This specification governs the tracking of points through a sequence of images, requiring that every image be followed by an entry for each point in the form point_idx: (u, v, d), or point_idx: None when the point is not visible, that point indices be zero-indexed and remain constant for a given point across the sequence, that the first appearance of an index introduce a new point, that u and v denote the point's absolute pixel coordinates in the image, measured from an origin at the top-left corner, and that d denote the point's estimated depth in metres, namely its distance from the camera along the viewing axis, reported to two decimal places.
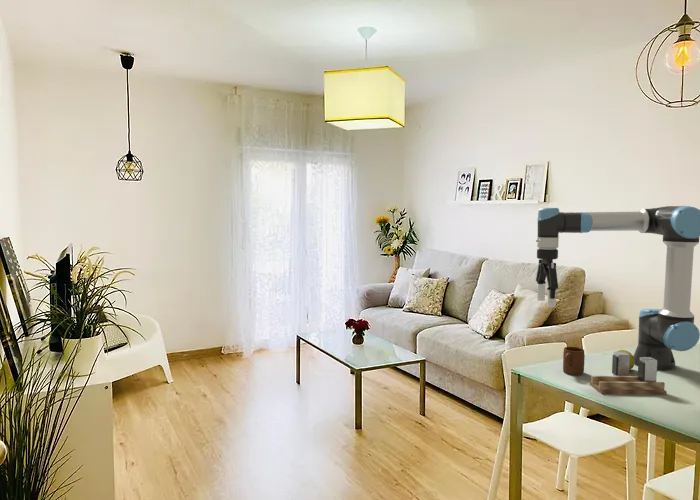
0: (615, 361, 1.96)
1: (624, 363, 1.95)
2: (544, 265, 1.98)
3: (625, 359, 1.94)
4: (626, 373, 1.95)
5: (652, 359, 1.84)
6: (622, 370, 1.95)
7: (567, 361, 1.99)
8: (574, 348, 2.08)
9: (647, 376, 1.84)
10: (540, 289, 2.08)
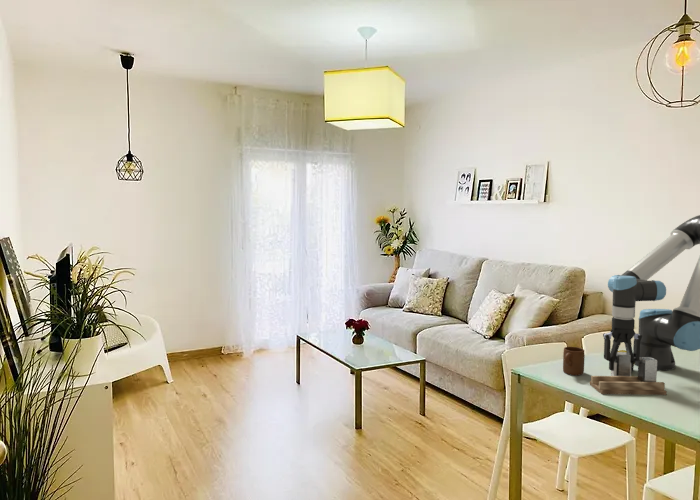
0: (616, 361, 1.96)
1: (625, 363, 1.95)
2: None
3: (626, 359, 1.95)
4: (627, 373, 1.95)
5: (652, 359, 1.84)
6: (623, 370, 1.95)
7: (567, 361, 1.99)
8: (574, 348, 2.08)
9: (647, 376, 1.84)
10: None
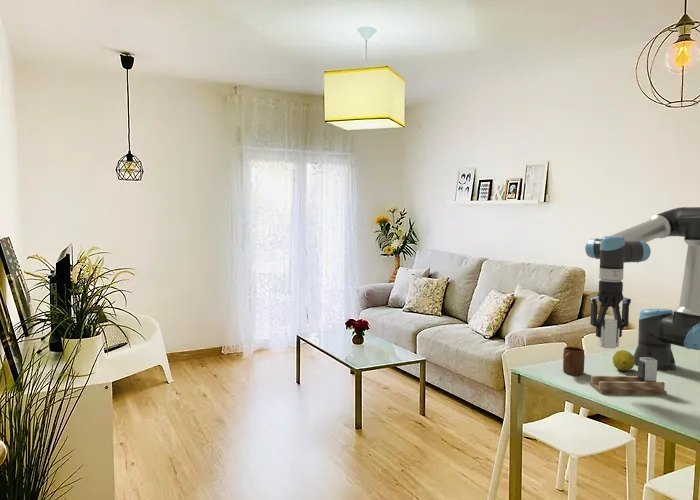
0: None
1: None
2: None
3: None
4: None
5: (652, 359, 1.84)
6: None
7: (567, 361, 1.99)
8: (574, 348, 2.08)
9: (647, 376, 1.84)
10: None
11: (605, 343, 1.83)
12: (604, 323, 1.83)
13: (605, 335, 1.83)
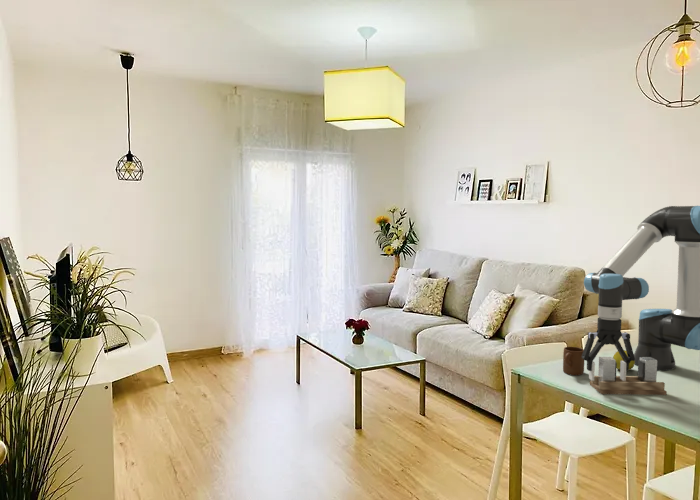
0: None
1: None
2: (616, 337, 1.83)
3: None
4: None
5: (652, 359, 1.84)
6: None
7: (567, 361, 1.99)
8: (574, 348, 2.08)
9: (647, 376, 1.84)
10: None
11: None
12: (602, 362, 1.85)
13: (603, 375, 1.84)
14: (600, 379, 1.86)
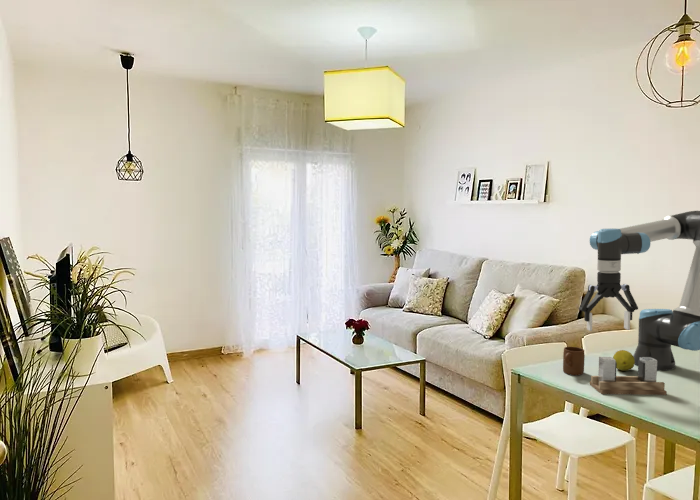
0: None
1: None
2: (616, 289, 1.88)
3: None
4: None
5: (652, 359, 1.84)
6: None
7: (567, 361, 1.99)
8: (574, 348, 2.08)
9: (647, 376, 1.84)
10: None
11: None
12: (602, 362, 1.85)
13: (603, 375, 1.84)
14: (600, 379, 1.86)
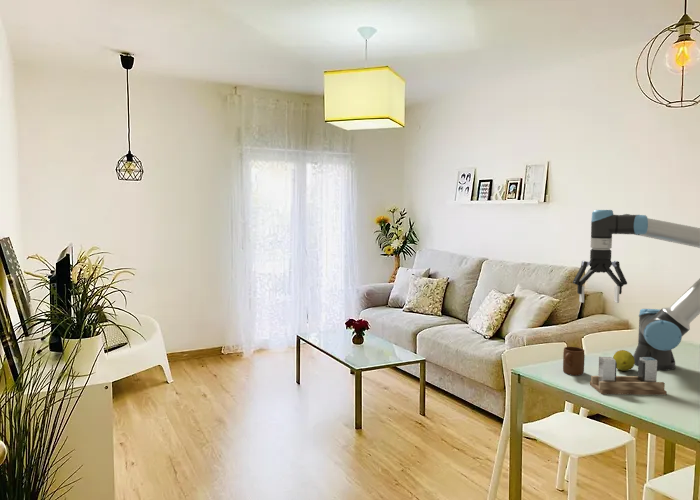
0: None
1: None
2: (607, 265, 2.06)
3: None
4: None
5: (652, 359, 1.84)
6: None
7: (567, 361, 1.99)
8: (574, 348, 2.08)
9: (647, 376, 1.84)
10: None
11: None
12: (602, 362, 1.85)
13: (603, 375, 1.84)
14: (600, 379, 1.86)
